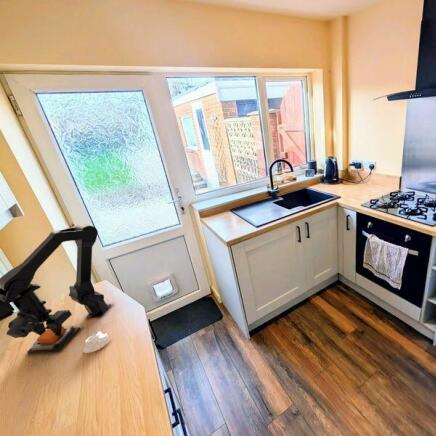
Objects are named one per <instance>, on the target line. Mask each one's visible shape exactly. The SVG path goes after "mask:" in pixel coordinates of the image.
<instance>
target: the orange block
mask: <svg viewBox="0 0 436 436" xmlns="http://www.w3.org/2000/svg"><path fill="white" fill-rule="evenodd" d="M63 326H64V325H62V331H61V335H62V334H63V333H64V332H65V331H66V330H65V328H64V327H63ZM61 335H60V336H61ZM60 336H57V335H55V334H54V333H53V332H52V331H51V330H50V329H46V331H45V332H44V333H43V334H42V335H41V336H40V335H38V337H37V338H36V341H38V342H39V344H52V343H54V342H55V341H56V340H57V339H58V338H59V337H60Z"/></svg>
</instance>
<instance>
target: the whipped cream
mask: <svg viewBox="0 0 436 436" xmlns="http://www.w3.org/2000/svg"><path fill="white" fill-rule="evenodd" d="M109 340H110V339H109V335H108V333H102V331H98V332H97V333H94V334H92V335H91V336H88V337H87V338H86V339H85V341H84V347H83V350H82V353H84V354H85V353H86V354H89V353H94V352H96V351H99V350H101V349H103V347H105V346H106V345H107V344H108V343H109Z"/></svg>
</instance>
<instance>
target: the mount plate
mask: <svg viewBox="0 0 436 436" xmlns="http://www.w3.org/2000/svg"><path fill="white" fill-rule="evenodd" d="M62 326H63V327H64V328H65V330H66V331H65V332H64V333H63V334H62V335H61V336H60V337H59V338H58V339H57V340H56V341H55V342H54V343H52V344H39V342H38V341H37V340H36V341H35V342H34V343H33V344H32V346H31V347H30V348H29V349H28V350H27V351H26V353H27V354H28V355H29V354H30V355H32V354H47V353H48V354H49V353H59V352H61V351H62V349H63V348H64V347H65V346H66V345H67V344H68V343H69V342H70V341H71V340H72V339H74V337H75V336H76V335H77V334H78V333H79V332H80V331H81V327H80V326H79V327H77V326H76V327H74V326H73V325H62Z"/></svg>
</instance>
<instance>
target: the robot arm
mask: <svg viewBox="0 0 436 436" xmlns="http://www.w3.org/2000/svg"><path fill="white" fill-rule="evenodd" d="M98 234H99V231H98V229H97V228H96V227H95V226H93V225H89V224H86V223H79V224H77V225H75V226H73V227H67V228H64V229H60V230H53V231H51V232H50V233H49V234H48V235H47V237H46V238H45V239H44V240H42V242H41V243H40V244H39V245H38V246H37V247H36V248H35V249H34V250H33V251H32V252H31V254H29V255H28V256H27V257H26V258H25V259H24V260H23V261H22V262H21V263H20V264H18V265H17V266H15V267H13V268H11V269H10V270H9V271H7V272H6V273H5V274H3V275H2V276H1V277H0V322H2V321H3V320H5V319H7V318H9V317H11V316H13V314H15V312H14V311H15V310H16V309H17V310H18V312H17V313H16V317H15V318H13V319H12V320H11V321H9V322H8V326H7V327H8V330H7V331H6V333H5V334H6V335H7V336H10V337H11V338H15V339H17V338H26V337H28V336H29V334H30V333H34V334H36V335H38V336H41V335H42V334H43V333H44V332H45V331H46V330H47V329H50V330H51V331H52V332H53V333H54V334H55V335H57V336H60V335H61V331H62V326H63V324H64V323H65V322H66V321H67V320H68V319H69V318H70V317H71V316H72V312H71V311H70V309H63V310H57V311H55V312H54V313H53V314H51V313H52V312H53V310H52V309H51V308H47V307H46V306H45V304H47V301H46V300H41V299H40V297H39V296H38V294H37V293H36V292H35V291H37V290H39V289H41V287H42V286H41V285H40V284H37V283H32V281H33V280H34V278H35V275H36V272H37V271H38V270H39V268H40V267H41V266H42V265H43V264H44V263H45V262H46V261H47V260H48V258H49V257H51V256H52V254H53V253H54V252H55V251H56V250H57V249H58V248H59V247H60V246H61V245H62V243H65V242H72V241H73V242H74V243H75V245H76V247H77V248H76V277H75V283H74V284H73V285H69V287H68V289H69V293H68V297H70V299H71V300H72V301H74V302H75V303H77V304H79V305H81V306H84V308H85V310H86V312H87V313H88V314H87V315H86V318H89V319H90V318H100V317H102V316H103V315H104V314H105V313H106V312H107V311H108V310H109V309H110V308H111V306H112V305H111V304H107V302H106V301H105V295H104V294H102V293H101V292H98V291H96V290H95V287H94V285H93V282H92V265H93V264H92V262H93V261H92V260H93V246H94V245H95V244H96V242H97V238H98ZM11 303H12V304H13V305H14V306H13V305H12V304H11ZM15 307H16V309H15ZM45 325H46V326H45Z"/></svg>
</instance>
